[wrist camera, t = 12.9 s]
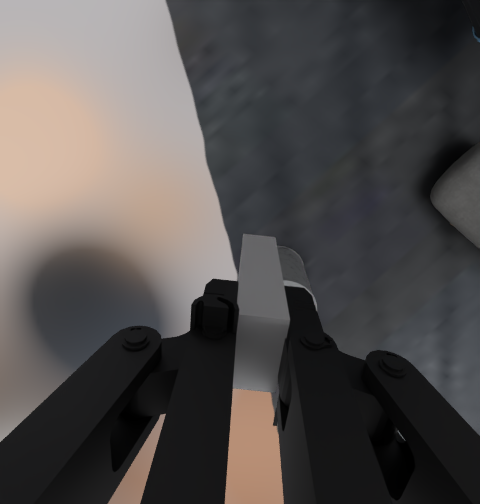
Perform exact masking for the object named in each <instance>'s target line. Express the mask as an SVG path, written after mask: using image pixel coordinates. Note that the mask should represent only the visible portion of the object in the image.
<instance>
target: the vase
mask: <svg viewBox="0 0 480 504" xmlns="http://www.w3.org/2000/svg"><path fill="white" fill-rule="evenodd" d="M430 199H431V202H432V204H433V206H434V207H435V208H436V209H437V210H438V211H439V212H440V213H441V214H442V215H443V216H444V217H445V218H446V219H447V220H448V221H449V222H450V223H451V224H452V225H453V226H454V227H455V228H456V229H457V230H458V231H459V232H461V233H462V234H463V235H464V236H465V237H466V238H467V239H468V240H470V241H471V242H472V243H473V244H474V245H475V246H477V247H478V248H479V249H480V142H479V143H477V144H476V145H474V146H473V147H472V148H470V149H469V150H468V151H467V152H465V153H464V154H463V155H462V156H461V157H460V158H459V159H458V160H456V161H455V162H454V163H453V164H452V165H451V166H450V167H449V168H448V169H447V170H446V172H445V173H444V174H443V175H442V176H441V177H440V178H439V179H438V180H437V182H436V183H435V185H434V186H433V188H432V190H431V194H430Z"/></svg>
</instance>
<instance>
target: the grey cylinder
mask: <svg viewBox="0 0 480 504" xmlns="http://www.w3.org/2000/svg"><path fill="white" fill-rule="evenodd" d="M277 249H278V255H279V260H280V266H281V271H282V277H283V283H284V286H293V287H303V288H305V289H306V290H307V291H308V292H309V293H310V294H311V295H312V297H313V300H314V305H315V307H316V311H317V303H316V300H315V298H314V296H313V293H312V290H311V287H310V284H309V281H308V278H307V275H306V272H305V269H304V264H303V261H302V259H301V258H300V256H299V255H298V254H297V253H296V252H295V251H294V250H292V249H290V248H288V247H284V246H277Z"/></svg>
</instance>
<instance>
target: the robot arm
mask: <svg viewBox="0 0 480 504" xmlns="http://www.w3.org/2000/svg"><path fill="white" fill-rule="evenodd" d="M462 3H463V5H464V7H465V9H466V12H467V14H468V16H469V18H470V21H471V23H472V25H473V26H472V33H473V35H474V37H475V38H476V39H477V41H478V42H480V0H462ZM278 384H279V397H278V402H277V407H276V412H275V417H274V423H273V425H274V426H277V422H278V431H279V444H280V457H281V470H282V483H283V496H284V504H480V436H479V435H478V434H477V433H476V432H475V431H474V430H473V429H472V427H471V426H470V425H469V424H468V423H467V422H466V421H465V420H464V419H463V418H462V417H461V416H460V415H459V414H458V413H457V411H456V410H455V409H454V408H453V407H452V406H451V405H450V404H449V403H448V402H447V401H446V400H445V399H444V398H443V396H442V395H441V394H440V393H439V392H438V391H437V390H436V389H435V388H434V387H433V386H432V385H431V384H430V383H429V382H428V380H427V379H426V378H425V377H424V376H423V375H422V374H421V373H420V372H419V371H418V370H417V369H416V368H415V367H414V366H413V365H412V364H411V363H410V362H409V361H407V360H406V359H405V358H403V357H401V356H399V355H397V354H395V353H392V352H388V351H381V350H377V351H372V352H370V353H369V354H368V355H367V357H366V360H362V359H359V358H356V357H353V356H350V355H347V354H345V353H342V352H341V351H339V350H338V348H337V345H336V343H335V342H334V340H333V339H332V338H331V337H330V336H329V335H327V334H326V333H324V332H323V329H322V325H321V322H320V319H319V316H318V313H317V311H316V307H315V305H314V300H313V297H312V295H311V294H310V293H309V292H308V291H307V290H306V289H305V288H303V287H293V286H284V283H283V277H282V271H281V266H280V260H279V255H278V249H277V243H276V238H275V237H269V236H260V235H250V234H243V240H242V249H241V258H240V267H239V276H238V281H229V280H220V279H212V280H211V281H210V282H209V283H207V284H206V287H205V290H204V294H203V296H201V297H199V298H197V299H195V300H194V302H193V303H192V305H191V324H190V331H189V332H187V333H186V334H183V335H181V336H177V337H172V338H163V339H161V335H160V334H159V333H158V332H157V330H155V329H153V328H150V327H146V326H132V327H128V328H125V329H122V330H120V331H119V332H117V333H116V334H114V335H113V336H112V337H111V338H110V339H109V340H108V341H107V342H106V343H105V344H104V345H103V346H102V347H101V348H99V349H98V350H97V351H96V352H95V353H94V354H93V355H92V356H91V357H90V358H89V359H88V360H87V361H86V362H85V363H84V364H83V365H81V366H80V367H79V368H78V369H77V370H76V371H75V372H74V373H73V374H72V375H71V376H70V377H69V378H68V379H67V380H66V381H65V382H63V383H62V384H61V385H60V386H59V387H58V388H57V389H56V390H55V391H54V392H53V393H52V394H51V395H50V396H49V397H48V398H47V399H46V400H44V402H43V403H41V404H40V405H39V406H38V407H37V408H36V409H35V410H34V411H33V412H32V413H31V414H30V415H29V416H28V417H27V418H26V419H24V420H23V421H22V422H21V423H20V424H19V425H18V426H17V427H16V428H15V429H14V430H13V431H12V432H11V433H10V434H9V435H8V436H7V437H5V438H4V439H3V440H2V441H1V442H0V504H107V503H108V502H109V500H110V499H111V497H112V495H113V494H114V492H115V491H116V489H117V487H118V486H119V484H120V482H121V481H122V479H123V477H124V476H125V474H126V472H127V471H128V469H129V467H130V466H131V464H132V462H133V461H134V459H135V457H136V456H137V454H138V453H139V450H140V449H141V448H142V446H143V444H144V443H145V441H146V439H147V438H148V436H149V434H150V433H151V431H152V429H153V428H154V426H155V424H156V423H157V421H158V419H159V416H160V415H161V414H166V416H165V419H164V423H163V426H162V430H161V433H160V437H159V440H158V444H157V447H156V451H155V454H154V458H153V461H152V465H151V468H150V472H149V475H148V479H147V482H146V486H145V490H144V493H143V496H142V500H141V503H140V504H225V489H226V475H227V461H228V447H229V433H230V418H231V405H232V391H233V390H232V389H233V388H236V389H246V390H255V391H264V392H273V393H276V390H277V385H278ZM397 431H399V432H400V433H401V435H402V436H403V438H404V439H405V440H406V441H405V440H404V439H403V438H402V437H401V436H400V435H399V433H398V432H397Z"/></svg>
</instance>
